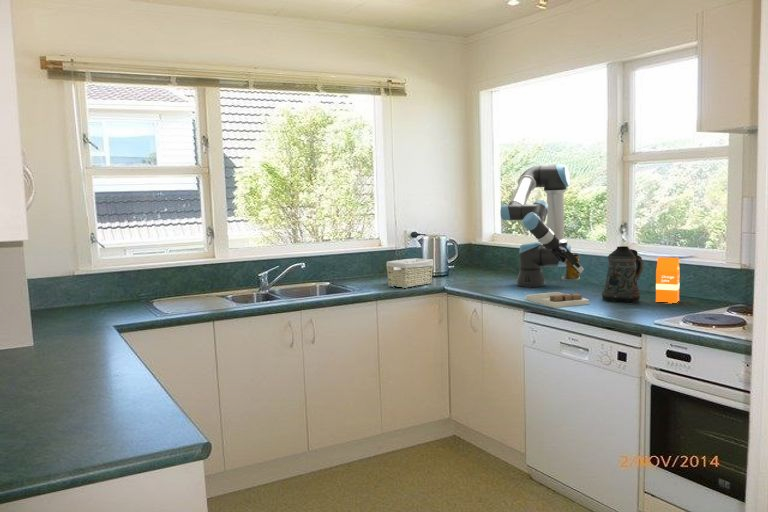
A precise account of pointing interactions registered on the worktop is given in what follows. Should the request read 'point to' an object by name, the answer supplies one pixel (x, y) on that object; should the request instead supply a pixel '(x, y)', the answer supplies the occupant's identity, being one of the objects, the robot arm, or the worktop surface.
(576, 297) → the block
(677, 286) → the orange juice
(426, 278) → the storage basket
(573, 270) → the condiment
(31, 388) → the worktop surface
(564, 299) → the block
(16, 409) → the worktop surface
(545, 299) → the tray
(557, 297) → the block
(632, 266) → the beer stein
